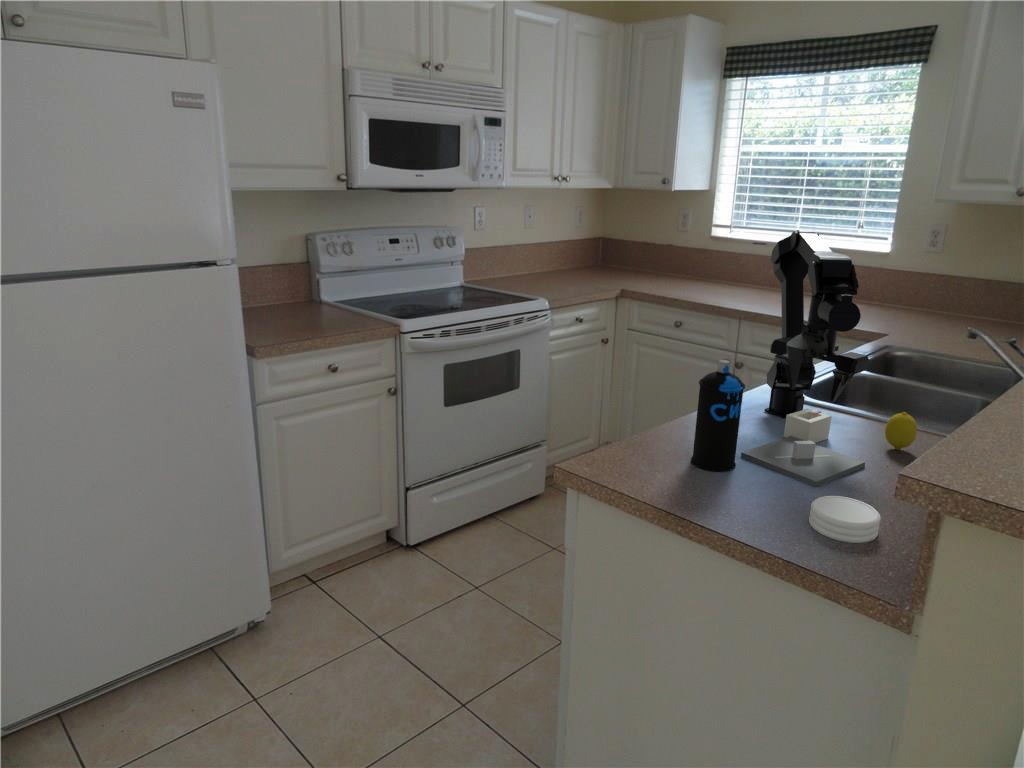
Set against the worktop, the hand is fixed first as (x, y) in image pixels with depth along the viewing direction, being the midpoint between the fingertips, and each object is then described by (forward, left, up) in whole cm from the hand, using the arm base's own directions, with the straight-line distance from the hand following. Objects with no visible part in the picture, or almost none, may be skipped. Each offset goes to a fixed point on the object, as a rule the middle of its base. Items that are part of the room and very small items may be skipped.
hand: (812, 395), depth 149 cm
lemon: (+14, +10, -10) cm, 20 cm away
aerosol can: (-2, -27, -10) cm, 29 cm away
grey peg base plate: (+7, -12, -9) cm, 17 cm away
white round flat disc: (+26, -30, -10) cm, 41 cm away
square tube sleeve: (0, 0, -9) cm, 9 cm away
